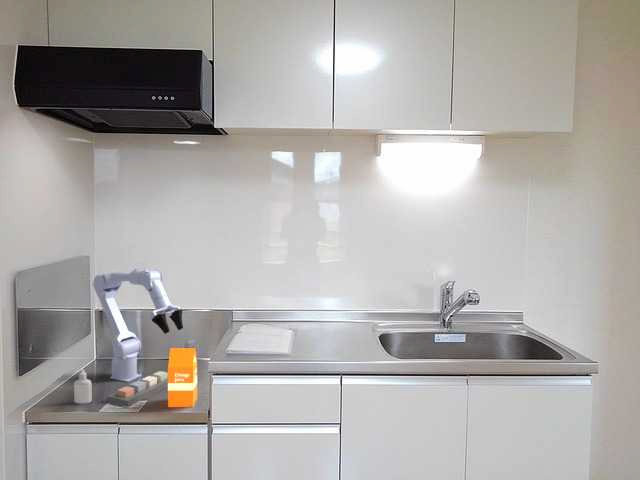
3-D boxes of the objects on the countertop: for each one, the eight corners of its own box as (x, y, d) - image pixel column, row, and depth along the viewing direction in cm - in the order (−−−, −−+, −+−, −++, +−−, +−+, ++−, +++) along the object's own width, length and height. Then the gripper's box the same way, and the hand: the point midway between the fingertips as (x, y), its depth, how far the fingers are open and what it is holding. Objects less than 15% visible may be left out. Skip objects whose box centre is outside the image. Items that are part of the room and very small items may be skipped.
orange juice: (172, 398, 176) (172, 345, 175) (197, 398, 177) (197, 345, 176) (167, 407, 169) (167, 351, 167) (193, 406, 169) (193, 351, 168)
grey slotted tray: (106, 401, 172) (106, 396, 172) (157, 377, 196) (157, 373, 196) (128, 406, 169) (127, 400, 168) (176, 381, 192) (176, 377, 192)
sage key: (152, 380, 190) (152, 374, 189) (159, 377, 193) (159, 371, 193) (160, 382, 188) (160, 375, 188) (167, 378, 192) (167, 372, 192)
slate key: (129, 391, 179) (129, 384, 178) (137, 387, 182) (137, 380, 182) (138, 392, 177) (138, 386, 177) (145, 389, 181) (145, 382, 180)
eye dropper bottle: (82, 406, 168) (81, 372, 167) (72, 402, 171) (72, 369, 170) (93, 401, 172) (93, 369, 171) (84, 398, 175) (83, 366, 174)
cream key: (141, 385, 184) (141, 379, 184) (149, 382, 188) (149, 375, 188) (149, 387, 182) (149, 380, 182) (157, 383, 186) (157, 377, 186)
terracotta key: (117, 396, 173) (117, 390, 173) (125, 392, 177) (125, 386, 176) (125, 398, 171) (125, 391, 171) (134, 394, 175) (134, 388, 175)
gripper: (153, 296, 176) (168, 329, 174) (179, 292, 190) (193, 323, 187) (140, 305, 179) (155, 337, 176) (167, 300, 192) (181, 330, 190)
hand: (174, 330), depth 182 cm, fingers open, 7 cm apart
